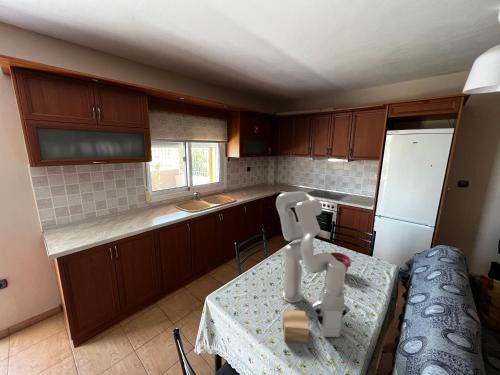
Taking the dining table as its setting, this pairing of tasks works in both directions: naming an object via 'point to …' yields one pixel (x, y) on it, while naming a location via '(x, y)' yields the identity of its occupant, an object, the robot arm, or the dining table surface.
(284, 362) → the dining table surface
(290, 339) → the tower base
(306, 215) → the robot arm
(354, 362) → the dining table surface
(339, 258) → the plant pot
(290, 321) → the tower top
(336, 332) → the supplement box
